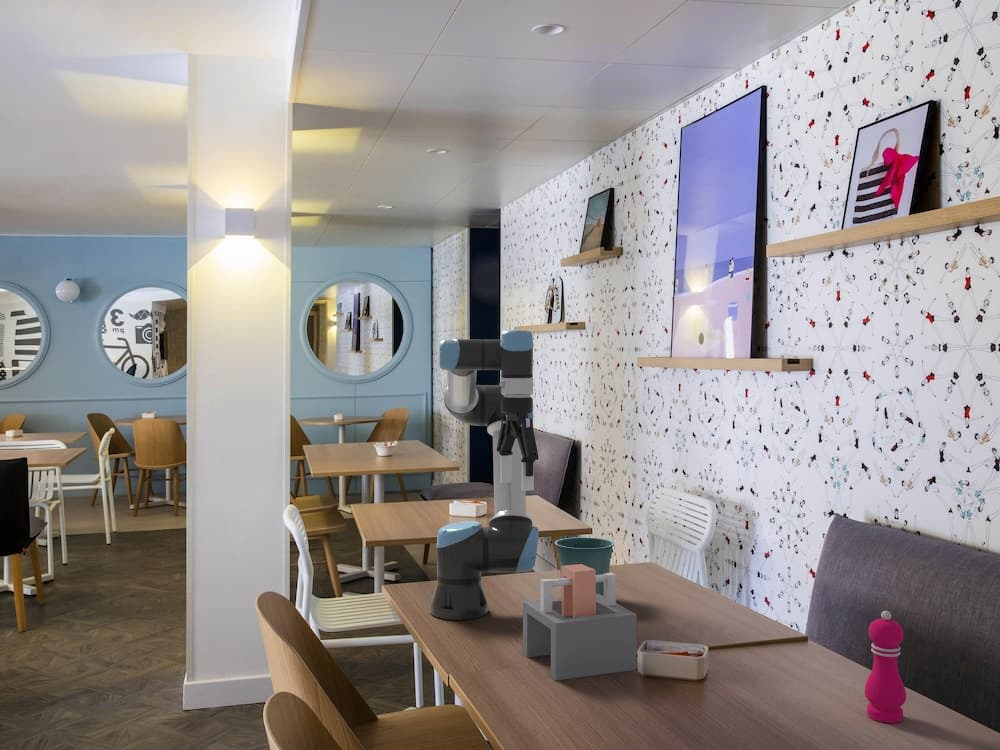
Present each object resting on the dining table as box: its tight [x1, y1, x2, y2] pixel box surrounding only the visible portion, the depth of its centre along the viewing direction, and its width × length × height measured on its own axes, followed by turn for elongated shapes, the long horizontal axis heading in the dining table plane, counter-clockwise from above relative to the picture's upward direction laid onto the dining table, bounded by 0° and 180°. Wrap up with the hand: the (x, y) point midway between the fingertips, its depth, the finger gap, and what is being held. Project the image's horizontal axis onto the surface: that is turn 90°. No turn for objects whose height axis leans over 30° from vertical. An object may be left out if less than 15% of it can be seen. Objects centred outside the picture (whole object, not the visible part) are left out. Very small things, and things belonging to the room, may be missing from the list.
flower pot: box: [554, 536, 615, 596], centre depth 252 cm, size 16×16×16 cm
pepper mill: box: [864, 610, 907, 724], centre depth 171 cm, size 7×7×20 cm
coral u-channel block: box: [560, 564, 596, 618], centre depth 202 cm, size 7×5×11 cm
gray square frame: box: [522, 572, 638, 682], centre depth 202 cm, size 18×19×19 cm
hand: (516, 486), depth 215 cm, fingers open, 13 cm apart
